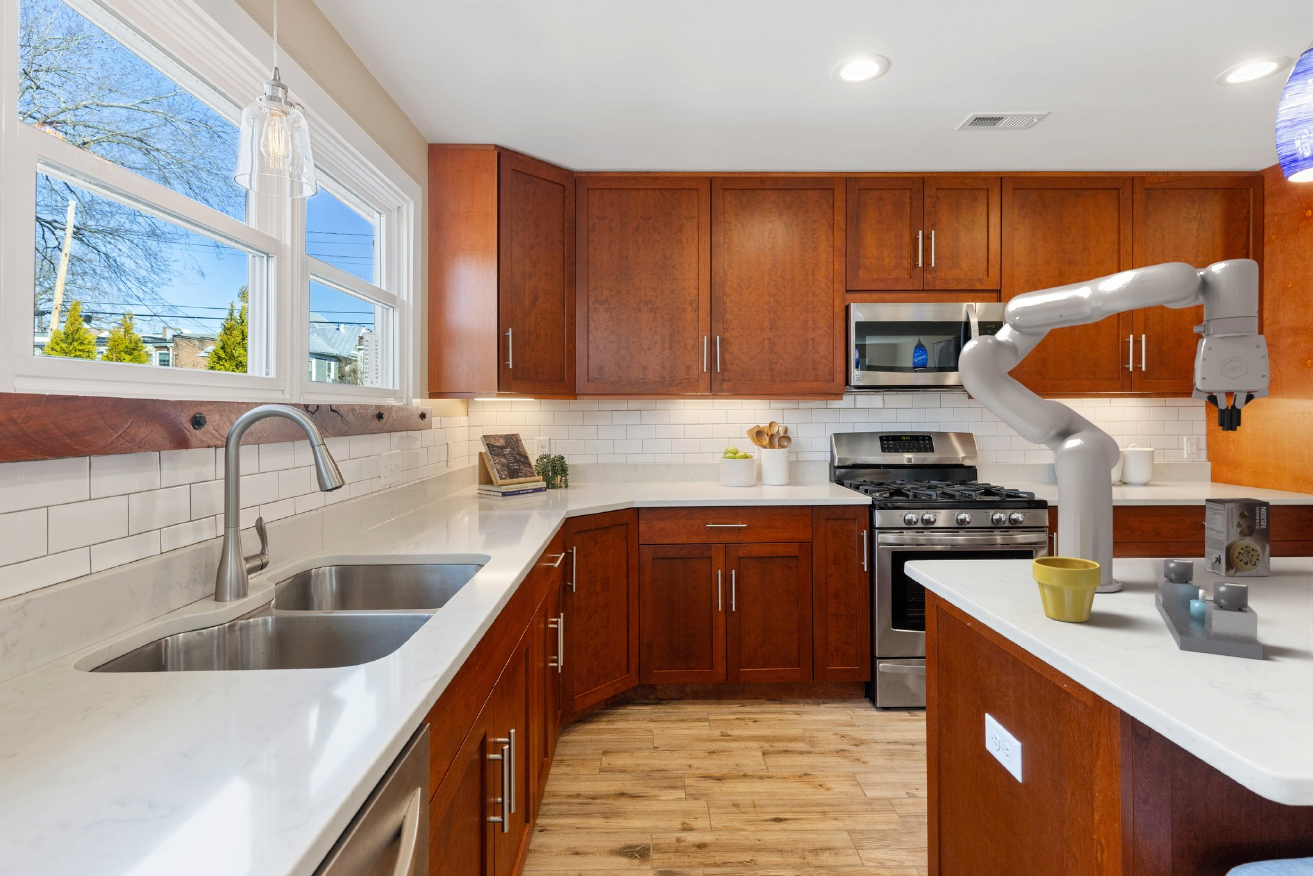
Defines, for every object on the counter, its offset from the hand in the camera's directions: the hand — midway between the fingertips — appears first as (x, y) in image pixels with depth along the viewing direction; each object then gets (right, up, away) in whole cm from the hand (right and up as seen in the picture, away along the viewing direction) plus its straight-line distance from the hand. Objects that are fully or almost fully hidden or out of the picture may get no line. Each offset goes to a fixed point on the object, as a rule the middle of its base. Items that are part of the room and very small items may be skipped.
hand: (1229, 430), depth 123 cm
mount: (-15, -33, -12) cm, 38 cm away
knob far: (-13, -30, -4) cm, 33 cm away
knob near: (-17, -31, -20) cm, 40 cm away
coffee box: (+22, -31, +24) cm, 45 cm away
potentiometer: (-15, -31, -12) cm, 36 cm away
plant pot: (-32, -33, -4) cm, 46 cm away
